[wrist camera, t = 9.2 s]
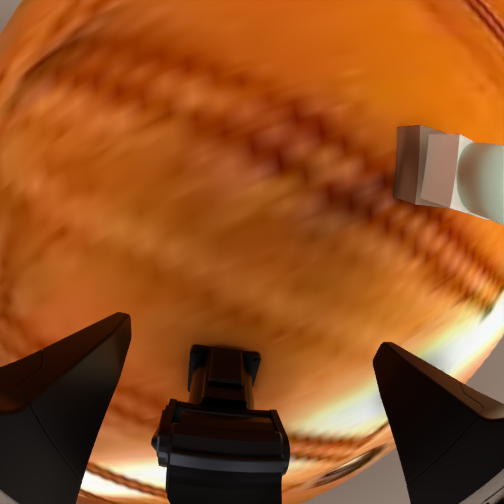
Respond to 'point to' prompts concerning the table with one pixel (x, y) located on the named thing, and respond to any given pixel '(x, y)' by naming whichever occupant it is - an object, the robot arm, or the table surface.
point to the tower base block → (412, 163)
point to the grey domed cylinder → (482, 180)
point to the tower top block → (444, 170)
